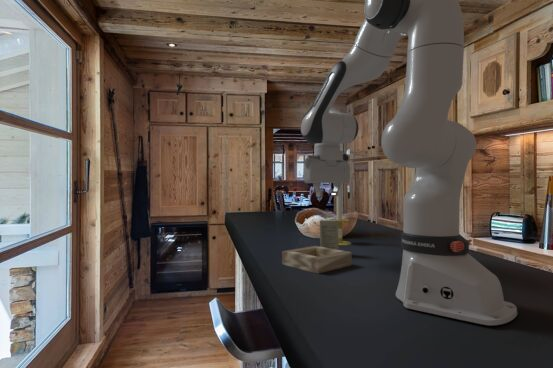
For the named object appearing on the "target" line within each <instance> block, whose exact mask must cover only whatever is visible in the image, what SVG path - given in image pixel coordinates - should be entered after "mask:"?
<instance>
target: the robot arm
mask: <svg viewBox="0 0 553 368" xmlns="http://www.w3.org/2000/svg"><path fill="white" fill-rule="evenodd" d="M363 7H364V8H363V10H364V13H363V14H364V16H365V18H364V20H363V21H362V24H361V25H360V28H359V30H358V32H357V34H356V37H355V38H354V39H355V40H353V44H352V46H351V48H350V50H349V51H348V53H347V54H346V55H345V56H344V57H343V59H341V60H340V61H338V62H336V63H335V64H334V65H333V66H332V68H331V69H330V71H329V73H328V74H327V76H326V78H325V80H324V82H323V83H322V85H321V87H320V90H318V91H319V92H318V93H317V95H316V97H315V98H314V101H313V103H312V104H311V106H310V108H309V109H308V110H307V112H306V113H305V114H304V116H303V118H302V120H301V123H300V134H301V136H302V138H303V139H304V140H305V141H306V142H308V143H309V144H311V145H313V150H314V151H313V152H314V153H313V154H308V155H307V156H306V157H305V159H304V166H303V174H302V180H303V182H304V183H305V184H313V188H314V191H315V196H316V197H317V198H322V197H324V192H323V191H322V190H321V185H322V184H333V187H334V188H333V190H332V191H331V196H332V197H337V196H338V191H339V189H340V187H341V185H342V184H349V181H350V178H351V168H350V163H349V162H350V160H351V157H350V155H348V153H345V152H344V151H342V150H341V146H340V144H344V145H345V144H349V143H352V142H353V141H355V139H356V138H357V136H358V135H359V122H358V120H357V118H356V117H355V116H354V115H353V114H351V113H350V114H349V113H345V112H342V111H339V109H338V108H336V107H334V106H333V105H334V103H335V102H336V100H337V97H339V95H340V94H342V92H343V91H345V90H346V89H349V88H351V87H354V86H356V85H360V84H363V83H364V84H366V83H369V82H372V81H374V80H376V79H378V78H379V77H381V76H382V75H383V74H384V73H385V71H386V70H387V68H388V66H389V64H390V62H391V60H392V58H393V56H394V53H395V51H396V48H397V46H398V43H399V42H400V40H401V39H402V38H403V37H406V36H407V37H408V38H407V49H406V50H407V53H406V54H407V55H406V70H405V71H406V72H405V84H404V91H403V96H402V100H401V101H400V105H399V108H398V110H397V112H396V114H395V116H394V117H393V118H392V119H391V120H390V121H388V123H387V124H386V126H385V127H384V129H383V131H382V134H381V140H380V144H381V150H382V152H383V154H384V156H385V157H386V158H387V159H388V160H389V161H391V162H393V163H395V164H397V165H399V166H403V167H405V168H409V169H415V174H414V177H413V181H412V183H411V186H410V187H409V189H408V190H407V191H406V192H405V194H404V197H403V200H402V201H403V205H402V206H403V214H402V215H403V216H402V218H403V220H402V221H403V225H402V226H403V227H402V228H403V230H402V232H401V234H400V235H401V236H400V237H401V238H400V252H401V256H402V259H401V268H400V274H399V280H398V284H397V288H396V291H395V297H396V298H397V299H398V300H399V301H401V302H402V304H403V306H404V307H405V308H406V309H410V310H414V311H419V312H424V313H428V314H433V315H437V316H440V317H441V316H442V317H446V318H451V319H456V320H459V321H465V322H469V323H474V324H479V325H484V326H499V325H504V324H507V323H509V322H511V321H513V320H514V319H515V318H516V317H517V315H518V307H517V306H516V305H515V304H514V303H512V302H509V301H505V300H504V293H503V288H502V285H501V281H500V280H499V278H498V277H497V275H496V274H494V273H493V272H491V271H490V270H489V269H488V268H487V267H485V266H484V265H483V264H481V263H480V262H479V261H478V260H477V259H476V258H475V257H473V256H472V255H470V246H471V245H472V243H471V242H472V241H473V240H472V239H466V238H465V237H463V235H461V234H460V204H461V203H460V201H461V193H462V187H463V183H464V179H465V176H466V172H467V168H468V164H469V163H470V161H471V160H472V158H473V157H474V156H475V153H476V151H477V140H476V137H475V135H474V134H473V132H472V131H471V130H470V129H468V128H467V127H466V126H464V125H463V124H462V123H460V122H457V121H453V120H449V119H448V117H449V112H450V108H451V105H452V102H453V100H454V98H455V96H456V94H457V95H458V93H459V92H460V90H461V89H462V86H463V72H464V71H463V70H464V56H465V55H464V51H465V32H464V31H465V29H464V19H463V12H462V8H461V5H460V3H459V2H458V0H364V6H363Z"/></svg>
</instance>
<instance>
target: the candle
mask: <svg viewBox="0 0 553 368" xmlns="http://www.w3.org/2000/svg"><path fill="white" fill-rule="evenodd" d="M342 208H343V187H342V184H341V187H340V189H339V191H338V196H336V218H331V219H328V220H338V237H339V246H349V245H352V242H350V241H345V240H343V223H347V222H350V219H347V218H346V219H345V218H343V217H342V216H343V212H342V211H343V209H342Z"/></svg>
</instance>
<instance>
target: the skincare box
mask: <svg viewBox="0 0 553 368" xmlns="http://www.w3.org/2000/svg"><path fill="white" fill-rule="evenodd" d="M319 243H320V245H319V246H320V247H325V248H331V249H336V250H340V247H339V246H340V245H339V237H338V220H329V219H320V220H319Z"/></svg>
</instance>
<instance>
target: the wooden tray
mask: <svg viewBox="0 0 553 368" xmlns="http://www.w3.org/2000/svg"><path fill="white" fill-rule="evenodd" d="M352 254H353V253H352V252H351V251H347V250H343V249H342V250H341V249H339V250H336V249H331V248H325V247H320V245H319V246H318V245H313V246H312V245H311V246H306V247H301V248H294V249H288V250H283V251H281V265H284V266H287V267H291V268H295V269H298V270H299V269H300V270H302V271H306V272H309V273H313V274H323V273H327V272H330V271H335V270H339V269H343V268H346V267H347V268H348V267H350V266H352V263H353V261H352V257H353V255H352Z"/></svg>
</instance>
